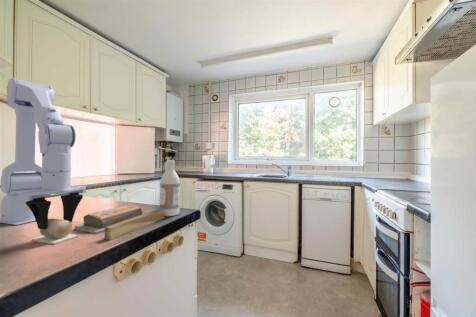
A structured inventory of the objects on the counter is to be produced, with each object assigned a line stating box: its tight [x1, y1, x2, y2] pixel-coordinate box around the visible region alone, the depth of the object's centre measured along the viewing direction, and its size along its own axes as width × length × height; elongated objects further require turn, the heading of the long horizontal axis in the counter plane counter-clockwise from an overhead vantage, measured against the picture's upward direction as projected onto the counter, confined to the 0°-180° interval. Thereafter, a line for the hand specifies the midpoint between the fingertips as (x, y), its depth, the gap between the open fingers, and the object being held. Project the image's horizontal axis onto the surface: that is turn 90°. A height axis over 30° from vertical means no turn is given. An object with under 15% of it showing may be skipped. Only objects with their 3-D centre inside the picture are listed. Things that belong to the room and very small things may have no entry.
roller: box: [39, 218, 73, 239], centre depth 57 cm, size 5×4×4 cm
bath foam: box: [159, 159, 181, 217], centre depth 84 cm, size 7×7×20 cm
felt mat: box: [31, 233, 79, 245], centre depth 57 cm, size 8×6×1 cm
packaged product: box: [74, 204, 143, 235], centre depth 71 cm, size 18×5×10 cm
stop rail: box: [104, 208, 165, 241], centre depth 68 cm, size 2×22×3 cm, turn 162°
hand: (55, 225), depth 57 cm, fingers open, 5 cm apart
